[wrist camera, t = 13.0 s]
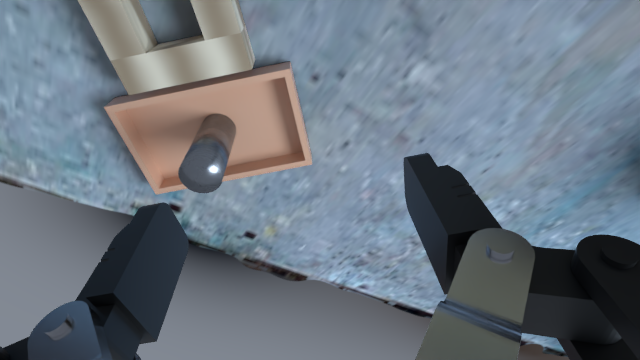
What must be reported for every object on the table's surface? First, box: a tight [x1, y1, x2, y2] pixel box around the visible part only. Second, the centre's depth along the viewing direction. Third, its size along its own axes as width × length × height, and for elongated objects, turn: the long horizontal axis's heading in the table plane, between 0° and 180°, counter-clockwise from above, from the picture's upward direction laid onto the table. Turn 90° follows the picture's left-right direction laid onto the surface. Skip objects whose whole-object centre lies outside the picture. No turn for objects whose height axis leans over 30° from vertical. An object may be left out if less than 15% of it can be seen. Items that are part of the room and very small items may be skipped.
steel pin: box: [178, 113, 236, 193], centre depth 39 cm, size 4×4×11 cm
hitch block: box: [78, 0, 255, 95], centre depth 34 cm, size 14×14×4 cm
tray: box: [104, 61, 312, 194], centre depth 43 cm, size 22×13×3 cm, turn 100°
